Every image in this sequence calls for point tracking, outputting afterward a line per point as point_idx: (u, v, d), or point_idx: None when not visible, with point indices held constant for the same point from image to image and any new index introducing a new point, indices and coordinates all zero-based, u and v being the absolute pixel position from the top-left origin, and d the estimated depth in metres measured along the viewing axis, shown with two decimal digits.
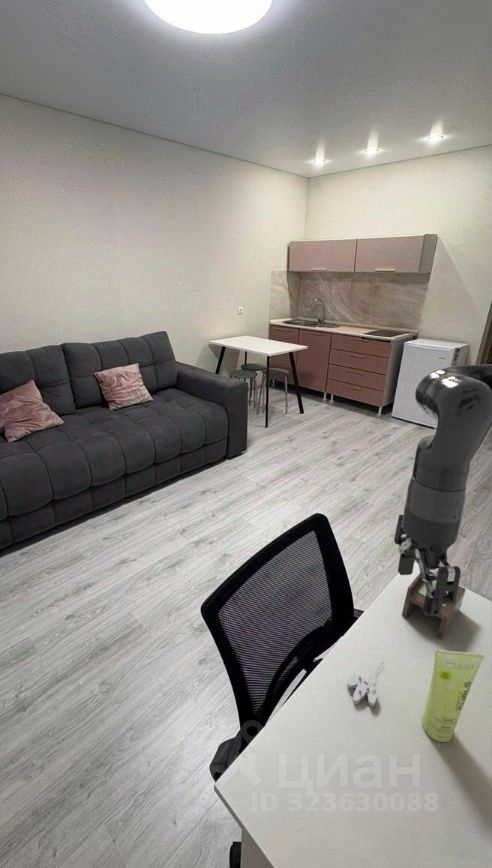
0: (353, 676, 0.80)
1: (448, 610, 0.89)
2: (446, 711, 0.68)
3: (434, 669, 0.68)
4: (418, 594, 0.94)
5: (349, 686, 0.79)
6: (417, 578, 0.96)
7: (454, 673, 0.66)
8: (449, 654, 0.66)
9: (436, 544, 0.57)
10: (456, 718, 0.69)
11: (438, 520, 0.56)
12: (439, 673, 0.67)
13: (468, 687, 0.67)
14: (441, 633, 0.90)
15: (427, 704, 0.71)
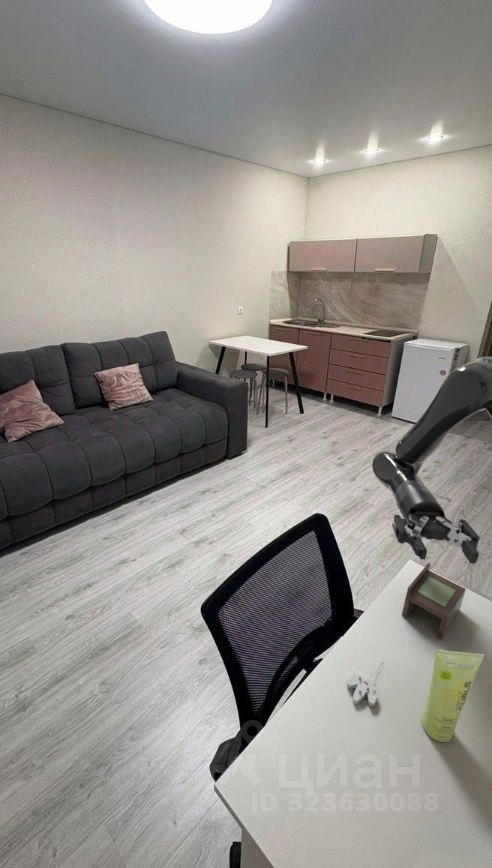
0: (353, 676, 0.80)
1: (448, 610, 0.89)
2: (446, 711, 0.68)
3: (434, 669, 0.68)
4: (418, 594, 0.94)
5: (349, 686, 0.79)
6: (417, 578, 0.96)
7: (454, 673, 0.66)
8: (449, 654, 0.66)
9: (404, 518, 0.83)
10: (456, 718, 0.69)
11: (399, 508, 0.87)
12: (439, 673, 0.67)
13: (468, 687, 0.67)
14: (441, 633, 0.90)
15: (427, 704, 0.71)
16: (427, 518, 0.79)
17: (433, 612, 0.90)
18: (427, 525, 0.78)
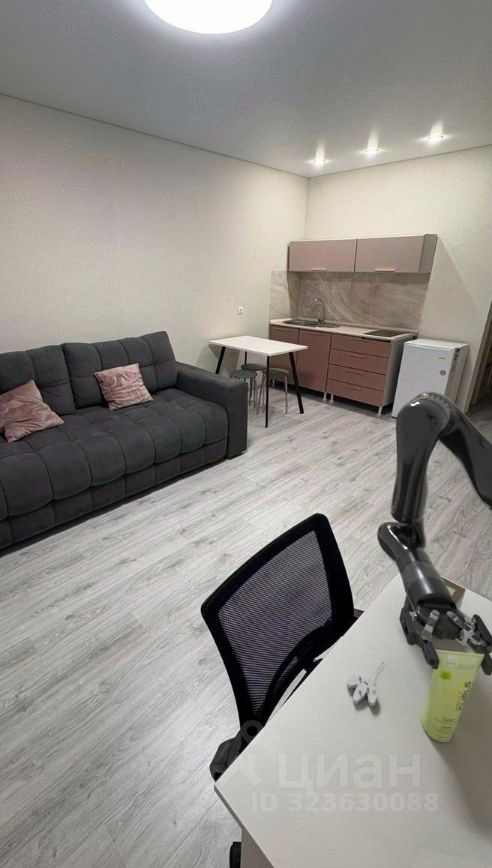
0: (353, 676, 0.80)
1: None
2: (446, 711, 0.68)
3: (434, 669, 0.68)
4: None
5: (349, 686, 0.79)
6: None
7: (454, 673, 0.66)
8: (449, 654, 0.66)
9: None
10: (456, 718, 0.69)
11: (406, 593, 0.81)
12: (439, 673, 0.67)
13: (468, 687, 0.67)
14: None
15: (427, 704, 0.71)
16: (437, 614, 0.72)
17: None
18: (437, 622, 0.71)
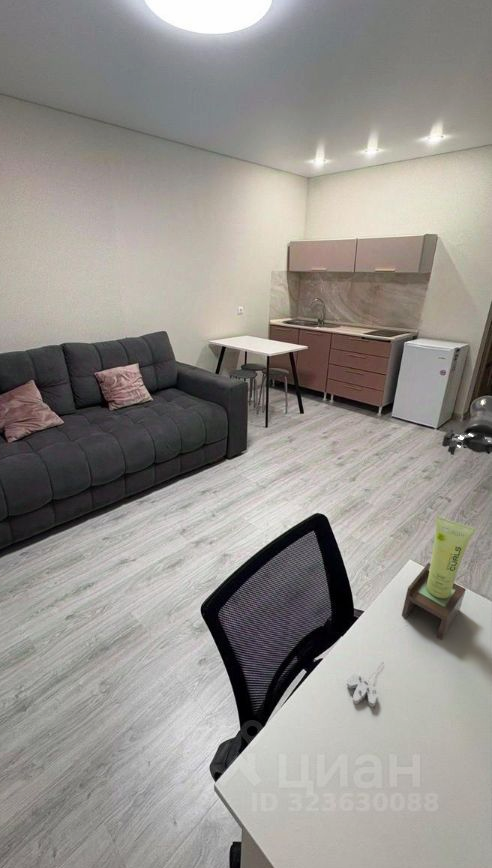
0: (353, 676, 0.80)
1: (448, 610, 0.89)
2: (439, 568, 0.90)
3: (435, 533, 0.91)
4: (418, 594, 0.94)
5: (349, 686, 0.79)
6: (417, 578, 0.96)
7: (448, 537, 0.88)
8: (447, 521, 0.88)
9: None
10: (448, 578, 0.90)
11: None
12: (437, 535, 0.90)
13: (458, 552, 0.87)
14: (441, 633, 0.90)
15: (430, 565, 0.94)
16: (475, 434, 0.97)
17: (433, 612, 0.90)
18: (473, 439, 0.97)
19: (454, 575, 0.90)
